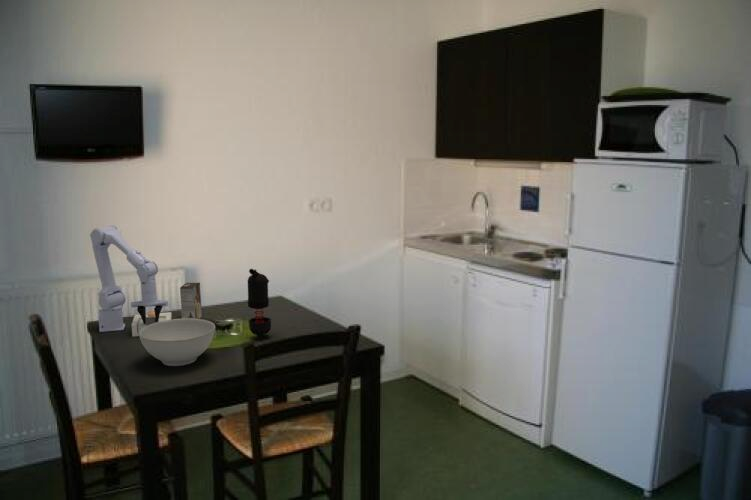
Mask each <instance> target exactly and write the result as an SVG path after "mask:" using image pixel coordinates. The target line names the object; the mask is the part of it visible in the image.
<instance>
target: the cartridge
mask: <svg viewBox="0 0 751 500" xmlns="http://www.w3.org/2000/svg"><path fill="white" fill-rule="evenodd" d="M145 320H146V324H143V320H142V319H140V321H139V324H138V333H139V331H140V330H141V329H142V328H144V327H145V326H147V325H150V324H153V323H155V317H146V318H145ZM160 321H165V318H159V321H158V322H160Z"/></svg>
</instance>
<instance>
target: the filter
mask: <svg viewBox="0 0 751 500" xmlns="http://www.w3.org/2000/svg"><path fill="white" fill-rule="evenodd" d="M248 272H249V274H250V276H248V277H247V278H248V279H247V306H248V308H250V309H254V310H255V311H254V314H255V316H254V317H252V318H250V319H249V320H248V327H249V330H250V333H252V334H253V335H256V337H257V338H258V339H264V337H265V336H264V335H266V334H267V333H269V332H270V330H271V329H272V319H271V318H270V317H266V316H264V315H263V314H264V313H265V311H263V309H266V308H268V307H269V306H270V304H269V302H270V301H269V299H270V298H269V282H270V280H269V279H268V277H267V276H266V275H264V274H262V273H260V272H258V271H257V269H253V268H249V270H248ZM257 310H258V311H257ZM260 310H261V311H260Z"/></svg>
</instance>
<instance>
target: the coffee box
mask: <svg viewBox="0 0 751 500" xmlns="http://www.w3.org/2000/svg"><path fill="white" fill-rule="evenodd" d="M179 292H180V308H181V319H182V318H194V319H198V318H199V319H201V318H202V316H203V314H202V299H201V297H202V295H201V282H186V283H183V284H182V286H181V287H179Z"/></svg>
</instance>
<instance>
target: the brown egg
mask: <svg viewBox="0 0 751 500" xmlns="http://www.w3.org/2000/svg"><path fill="white" fill-rule="evenodd" d="M146 314H147V315H148V316H155V311H154V310H152V311H148V312H146Z"/></svg>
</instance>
